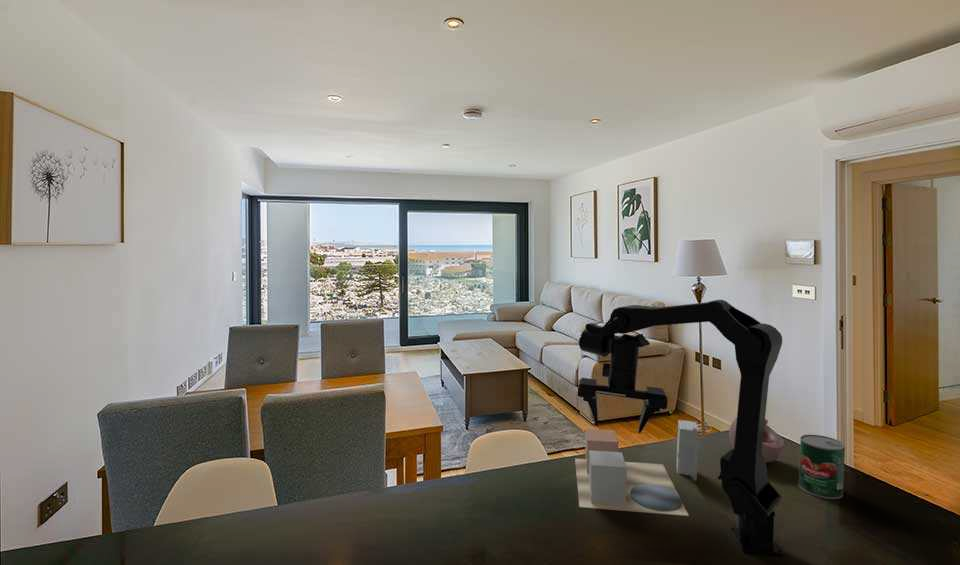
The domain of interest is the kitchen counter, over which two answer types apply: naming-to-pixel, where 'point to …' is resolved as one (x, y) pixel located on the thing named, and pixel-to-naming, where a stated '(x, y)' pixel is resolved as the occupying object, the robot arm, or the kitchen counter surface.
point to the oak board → (637, 490)
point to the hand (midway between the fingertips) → (617, 429)
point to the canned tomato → (821, 466)
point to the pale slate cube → (607, 477)
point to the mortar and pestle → (764, 442)
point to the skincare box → (687, 448)
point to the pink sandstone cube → (599, 442)
